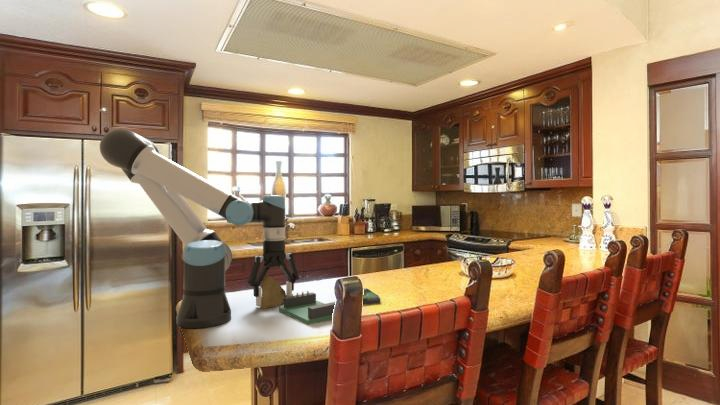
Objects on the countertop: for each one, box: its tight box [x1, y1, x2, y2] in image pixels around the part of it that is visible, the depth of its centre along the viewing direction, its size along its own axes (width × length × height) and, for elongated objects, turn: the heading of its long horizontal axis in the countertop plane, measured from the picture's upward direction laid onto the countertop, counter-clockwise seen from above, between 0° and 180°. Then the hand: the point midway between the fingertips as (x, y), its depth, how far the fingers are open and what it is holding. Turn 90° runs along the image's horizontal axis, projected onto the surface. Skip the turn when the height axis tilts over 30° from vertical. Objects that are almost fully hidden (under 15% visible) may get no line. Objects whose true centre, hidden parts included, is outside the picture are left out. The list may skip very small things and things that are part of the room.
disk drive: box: [362, 287, 381, 306], centre depth 135 cm, size 10×3×15 cm
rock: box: [260, 276, 287, 310], centre depth 127 cm, size 11×9×10 cm
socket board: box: [278, 290, 336, 326], centre depth 117 cm, size 14×18×5 cm
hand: (274, 303), depth 127 cm, fingers closed on rock, 11 cm apart
